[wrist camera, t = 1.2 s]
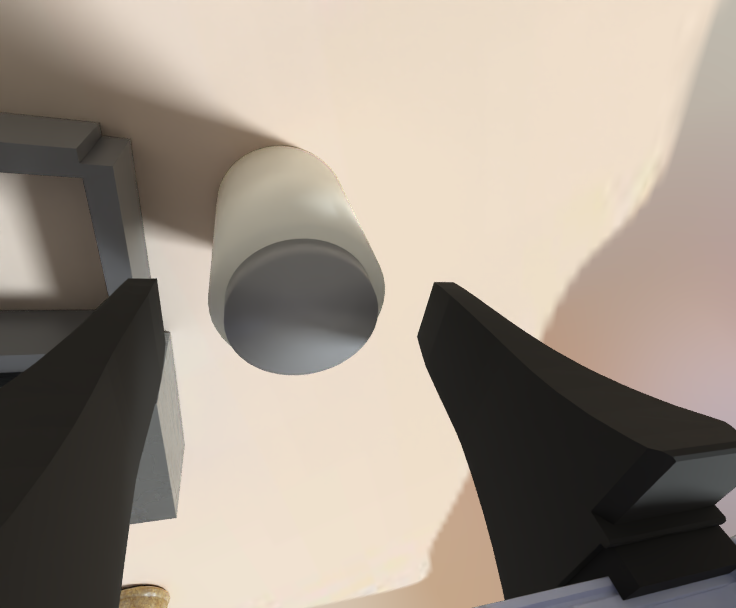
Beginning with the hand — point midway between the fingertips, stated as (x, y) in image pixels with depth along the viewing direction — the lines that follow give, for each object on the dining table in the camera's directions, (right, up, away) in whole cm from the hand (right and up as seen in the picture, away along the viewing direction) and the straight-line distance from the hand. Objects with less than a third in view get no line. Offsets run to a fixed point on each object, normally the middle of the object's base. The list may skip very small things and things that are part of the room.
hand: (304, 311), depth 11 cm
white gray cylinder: (-2, +4, +5) cm, 6 cm away
